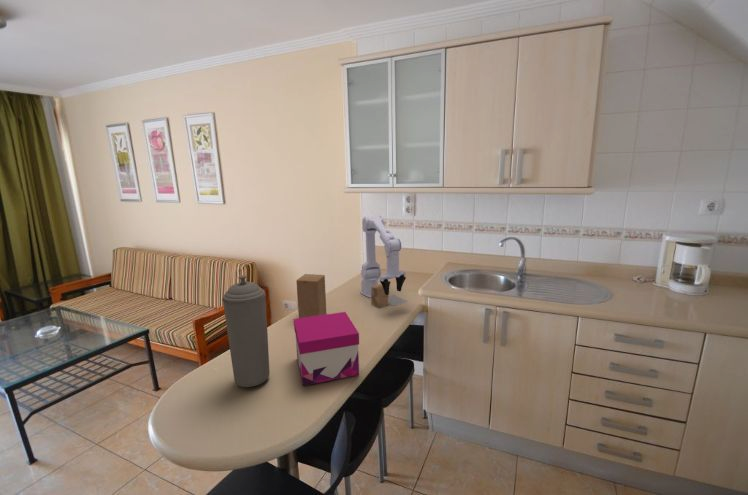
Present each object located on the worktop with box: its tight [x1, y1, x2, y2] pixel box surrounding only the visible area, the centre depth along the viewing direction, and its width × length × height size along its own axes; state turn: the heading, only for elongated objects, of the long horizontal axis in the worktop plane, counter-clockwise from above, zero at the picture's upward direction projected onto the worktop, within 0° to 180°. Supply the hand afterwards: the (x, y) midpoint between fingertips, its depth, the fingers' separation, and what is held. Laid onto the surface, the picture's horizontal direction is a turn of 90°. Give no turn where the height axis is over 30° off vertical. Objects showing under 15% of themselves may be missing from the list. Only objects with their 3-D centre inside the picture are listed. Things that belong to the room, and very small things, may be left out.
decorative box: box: [293, 311, 360, 387], centre depth 117 cm, size 19×19×15 cm
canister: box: [221, 274, 270, 388], centre depth 108 cm, size 13×13×35 cm
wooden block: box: [296, 273, 327, 318], centre depth 156 cm, size 10×10×20 cm
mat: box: [388, 294, 408, 307], centre depth 178 cm, size 12×11×1 cm
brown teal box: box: [371, 283, 389, 309], centre depth 172 cm, size 6×6×10 cm
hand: (392, 292), depth 160 cm, fingers open, 7 cm apart
